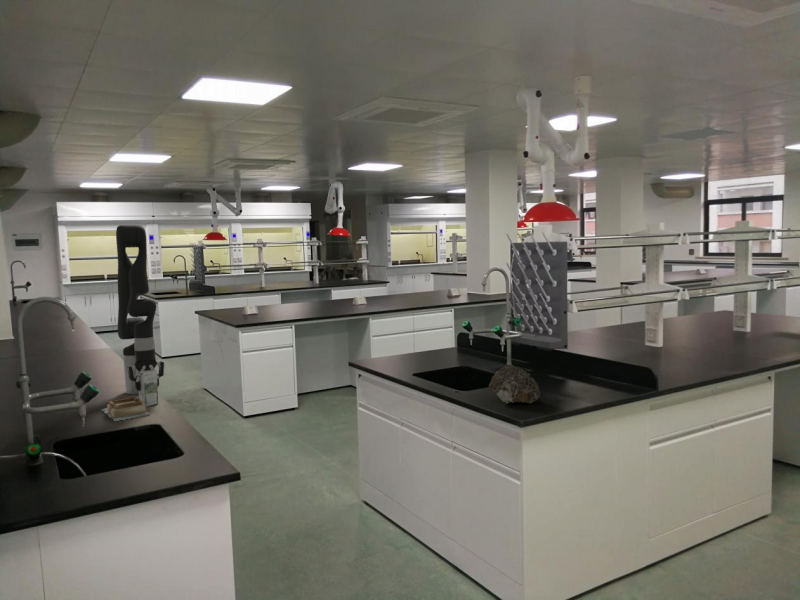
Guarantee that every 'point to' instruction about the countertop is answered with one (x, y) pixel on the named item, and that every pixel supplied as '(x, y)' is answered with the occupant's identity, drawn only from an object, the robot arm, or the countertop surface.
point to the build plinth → (125, 409)
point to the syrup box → (148, 387)
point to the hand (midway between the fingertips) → (147, 388)
